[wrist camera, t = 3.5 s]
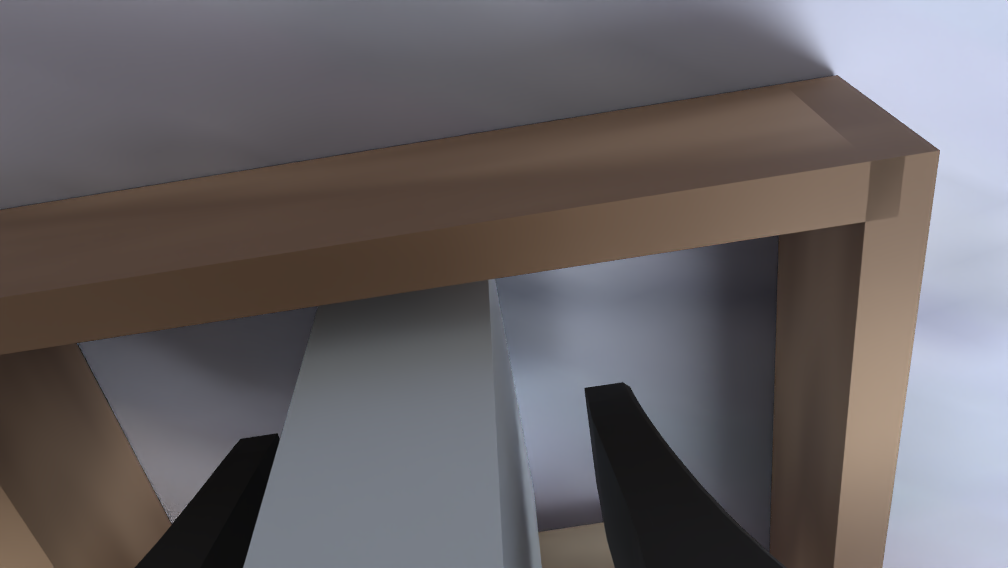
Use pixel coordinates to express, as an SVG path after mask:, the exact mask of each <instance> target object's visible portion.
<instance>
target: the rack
mask: <svg viewBox="0 0 1008 568" xmlns="http://www.w3.org/2000/svg"><path fill="white" fill-rule="evenodd" d="M939 154H940V150H939V149H937V148H936V147H934V146H933V145H932V144H930V143H929V142H928V141H926V140H925V139H924V138H922V137H921V136H919V135H918V134H917V133H915V132H914V131H913V130H911V129H910V128H909V127H907V126H906V125H905V124H903V123H902V122H900V121H899V120H898V119H896V118H895V117H894V116H892V115H891V114H890V113H888V112H887V111H885V110H884V109H883V108H881V107H880V106H879V105H877V104H876V103H875V102H873V101H872V100H870V99H869V98H868V97H866V96H865V95H864V94H862V93H861V92H860V91H858V90H857V89H855V88H854V87H853V86H851V85H850V84H849V83H847V82H846V81H845V80H843V79H842V78H840V77H839V76H838V75H835V76H829V77H823V78H816V79H810V80H804V81H798V82H792V83H785V84H779V85H773V86H767V87H760V88H754V89H748V90H742V91H736V92H729V93H723V94H717V95H711V96H705V97H698V98H692V99H686V100H680V101H674V102H667V103H661V104H655V105H649V106H642V107H636V108H630V109H624V110H618V111H611V112H605V113H599V114H593V115H587V116H580V117H574V118H568V119H562V120H556V121H549V122H543V123H537V124H531V125H524V126H518V127H512V128H506V129H500V130H493V131H487V132H481V133H475V134H469V135H462V136H456V137H450V138H444V139H437V140H431V141H425V142H419V143H413V144H406V145H400V146H394V147H388V148H382V149H375V150H369V151H363V152H357V153H351V154H344V155H338V156H332V157H326V158H319V159H313V160H307V161H301V162H295V163H288V164H282V165H276V166H270V167H264V168H257V169H251V170H245V171H239V172H232V173H226V174H220V175H214V176H208V177H201V178H195V179H189V180H183V181H177V182H170V183H164V184H158V185H152V186H146V187H139V188H133V189H127V190H121V191H114V192H108V193H102V194H96V195H90V196H83V197H77V198H71V199H65V200H59V201H52V202H46V203H40V204H34V205H28V206H21V207H15V208H9V209H3V210H0V568H135V566H136V565H137V564H138V563H139V562H140V561H141V560H142V559H143V558H144V556H145V555H146V554H147V553H148V552H149V551H150V550H151V549H152V547H153V546H154V545H155V544H156V543H157V542H158V541H159V539H160V538H161V537H162V536H163V535H164V533H165V532H166V531H167V530H168V529H169V527H170V526H171V525H172V524H171V522H170V521H169V519H168V517H167V515H166V513H165V511H164V509H163V507H162V505H161V503H160V502H159V500H158V498H157V496H156V494H155V492H154V490H153V488H152V486H151V484H150V482H149V481H148V479H147V477H146V475H145V473H144V471H143V469H142V467H141V465H140V463H139V461H138V460H137V458H136V456H135V454H134V452H133V450H132V448H131V446H130V444H129V442H128V440H127V439H126V437H125V435H124V433H123V431H122V429H121V427H120V425H119V423H118V421H117V420H116V418H115V416H114V414H113V412H112V410H111V408H110V406H109V404H108V402H107V400H106V399H105V397H104V395H103V393H102V391H101V389H100V387H99V385H98V383H97V381H96V379H95V378H94V376H93V374H92V372H91V370H90V368H89V366H88V364H87V362H86V360H85V358H84V357H83V355H82V353H81V351H80V349H79V347H78V345H77V343H80V342H87V341H93V340H100V339H106V338H113V337H119V336H126V335H132V334H139V333H145V332H152V331H158V330H165V329H171V328H178V327H184V326H191V325H197V324H204V323H210V322H217V321H223V320H230V319H236V318H243V317H249V316H256V315H262V314H269V313H275V312H282V311H288V310H295V309H301V308H308V307H314V306H321V305H327V304H334V303H340V302H347V301H353V300H360V299H366V298H373V297H379V296H386V295H392V294H399V293H405V292H412V291H418V290H425V289H431V288H438V287H444V286H451V285H457V284H464V283H470V282H477V281H483V280H490V279H496V278H503V277H509V276H516V275H522V274H529V273H535V272H542V271H548V270H555V269H561V268H568V267H574V266H581V265H587V264H594V263H600V262H607V261H613V260H620V259H626V258H633V257H639V256H646V255H652V254H659V253H665V252H672V251H678V250H685V249H691V248H698V247H704V246H711V245H717V244H724V243H730V242H737V241H743V240H750V239H756V238H763V237H769V236H776V235H779V246H778V280H777V314H776V348H775V382H774V416H773V450H772V484H771V518H770V552H769V553H770V554H771V555H772V556H773V557H775V558H776V559H777V560H778V561H779V562H781V563H782V564H783V565H784V566H785V567H786V568H882V565H883V558H884V551H885V544H886V536H887V529H888V522H889V515H890V508H891V500H892V493H893V486H894V479H895V471H896V464H897V457H898V450H899V443H900V435H901V428H902V421H903V414H904V406H905V399H906V392H907V385H908V378H909V370H910V363H911V356H912V349H913V341H914V334H915V327H916V320H917V313H918V305H919V298H920V291H921V284H922V276H923V269H924V262H925V255H926V248H927V240H928V233H929V226H930V219H931V211H932V204H933V197H934V190H935V183H936V175H937V168H938V161H939Z"/></svg>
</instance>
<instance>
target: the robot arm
mask: <svg viewBox="0 0 1008 568" xmlns="http://www.w3.org/2000/svg"><path fill="white" fill-rule="evenodd" d="M584 389H585V397H586V405H587V413H588V420H589V428H590V436H591V444H592V452H593V460H594V468H595V476H596V483H597V489H598V494H599V500H600V505H601V511H602V516H603V522H604V527H605V532H606V538H607V542H608V546H609V549H610V553H611V556H612V560H613V563H614V567H615V568H786V567H785V566H784V565H783V564H782V563H781V562H779V561H778V560H777V559H776V558H775V557H773V556H772V555H771V554H770V553H769V552H768V551H767V550H766V549H765V548H763V547H762V546H761V545H760V544H759V543H758V542H757V541H756V540H755V539H754V538H753V537H751V536H750V535H749V534H748V533H747V532H746V531H745V530H744V529H743V528H742V527H741V526H740V525H739V524H738V523H737V522H736V521H735V520H734V519H733V518H732V517H731V516H730V515H729V514H728V513H727V512H726V511H725V510H724V509H723V508H722V507H721V506H720V505H719V503H718V502H717V501H716V500H715V499H714V498H713V497H712V496H711V495H710V494H709V493H708V492H707V491H706V490H705V488H704V487H703V486H702V485H701V484H700V483H699V482H698V481H697V479H696V478H695V477H694V476H693V475H692V474H691V472H690V471H689V470H688V469H687V467H686V466H685V465H684V464H683V463H682V461H681V460H680V459H679V458H678V457H677V455H676V454H675V453H674V452H673V451H672V449H671V448H670V447H669V445H668V444H667V443H666V441H665V440H664V439H663V437H662V436H661V435H660V433H659V432H658V431H657V429H656V428H655V426H654V425H653V424H652V422H651V421H650V419H649V418H648V416H647V415H646V413H645V412H644V410H643V409H642V407H641V406H640V404H639V402H638V401H637V399H636V397H635V395H634V394H633V392H632V390H631V388H630V387H629V386H628V385H626V384H625V383H623V382H622V383H615V384H608V385H602V386H595V387H588V388H584ZM279 441H280V438H279V436H278V433H277V434H270V435H263V436H257V437H250V438H243V439H240V440H239V441H238V443H237V444H236V445H235V446H234V447H233V449H232V450H231V451H230V452H229V454H228V455H227V456H226V457H225V459H224V460H223V461H222V462H221V464H220V465H219V466H218V467H217V469H216V470H215V471H214V473H213V474H212V475H211V476H210V478H209V479H208V480H207V481H206V483H205V484H204V485H203V487H202V488H201V489H200V490H199V492H198V493H197V494H196V495H195V497H194V498H193V499H192V500H191V502H190V503H189V504H188V505H187V506H186V508H185V509H184V510H183V511H182V513H181V514H180V515H179V516H178V518H177V519H176V520H175V521H174V522H173V524H172V525H171V526H170V527H169V529H168V530H167V531H166V532H165V533H164V535H163V536H162V537H161V538H160V539H159V541H158V542H157V543H156V544H155V545H154V546H153V547H152V549H151V550H150V551H149V552H148V553H147V554H146V555H145V556H144V558H143V559H142V560H141V561H140V562H139V563H138V564H137V565H136V566H135V568H243V567H244V563H245V560H246V556H247V553H248V549H249V546H250V542H251V539H252V535H253V532H254V528H255V525H256V521H257V518H258V514H259V511H260V507H261V504H262V500H263V497H264V494H265V490H266V487H267V483H268V480H269V476H270V473H271V469H272V466H273V462H274V459H275V455H276V452H277V448H278V445H279Z"/></svg>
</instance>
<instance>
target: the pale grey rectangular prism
mask: <svg viewBox="0 0 1008 568" xmlns="http://www.w3.org/2000/svg"><path fill="white" fill-rule="evenodd" d="M243 568H542V564H541V554H540V544H539V535H538V525H537V515H536V505H535V496H534V488H533V482H532V477H531V471H530V466H529V461H528V455H527V450H526V444H525V439H524V433H523V428H522V422H521V417H520V411H519V406H518V401H517V395H516V390H515V384H514V379H513V373H512V368H511V362H510V357H509V351H508V346H507V341H506V335H505V330H504V324H503V319H502V313H501V308H500V302H499V297H498V291H497V286H496V281H495V279H490V280H483V281H477V282H470V283H464V284H457V285H451V286H444V287H438V288H431V289H425V290H418V291H412V292H405V293H399V294H392V295H386V296H379V297H373V298H366V299H360V300H353V301H347V302H340V303H334V304H327V305H321V306H318V308H317V312H316V315H315V319H314V322H313V326H312V329H311V333H310V336H309V340H308V343H307V347H306V350H305V354H304V357H303V361H302V364H301V368H300V371H299V375H298V378H297V382H296V385H295V389H294V392H293V396H292V399H291V403H290V406H289V410H288V413H287V417H286V420H285V424H284V427H283V431H282V434H281V438H280V441H279V445H278V448H277V452H276V455H275V459H274V462H273V466H272V469H271V473H270V476H269V480H268V483H267V487H266V490H265V494H264V497H263V500H262V504H261V507H260V511H259V514H258V518H257V521H256V525H255V528H254V532H253V535H252V539H251V542H250V546H249V549H248V553H247V556H246V560H245V563H244V567H243Z"/></svg>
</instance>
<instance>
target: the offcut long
mask: <svg viewBox="0 0 1008 568" xmlns="http://www.w3.org/2000/svg"><path fill="white" fill-rule="evenodd" d="M538 535H539V544H540V554H541V564H542V568H615V567H614V563H613V560H612V556H611V553H610V549H609V546H608V542H607V538H606V532H605V527H604V522H602V523H595V524H588V525H582V526H575V527H569V528H562V529H555V530H549V531H542V532H538Z"/></svg>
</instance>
